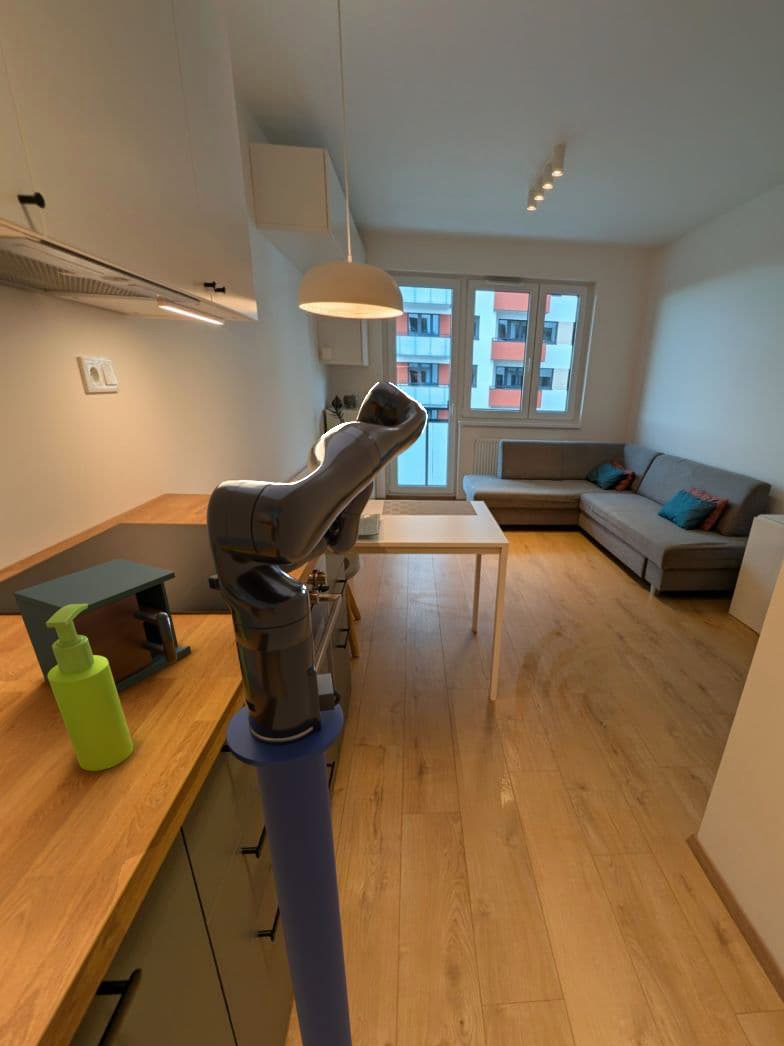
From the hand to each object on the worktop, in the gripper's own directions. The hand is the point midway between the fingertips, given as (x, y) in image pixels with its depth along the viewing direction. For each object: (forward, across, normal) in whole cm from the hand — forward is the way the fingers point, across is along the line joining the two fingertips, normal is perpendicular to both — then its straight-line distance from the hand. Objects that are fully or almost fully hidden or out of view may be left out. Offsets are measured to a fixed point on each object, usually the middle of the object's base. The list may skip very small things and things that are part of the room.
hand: (212, 584), depth 83 cm
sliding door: (+14, +3, -12) cm, 19 cm away
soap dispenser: (+25, -6, -13) cm, 29 cm away
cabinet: (+11, +11, -13) cm, 20 cm away
